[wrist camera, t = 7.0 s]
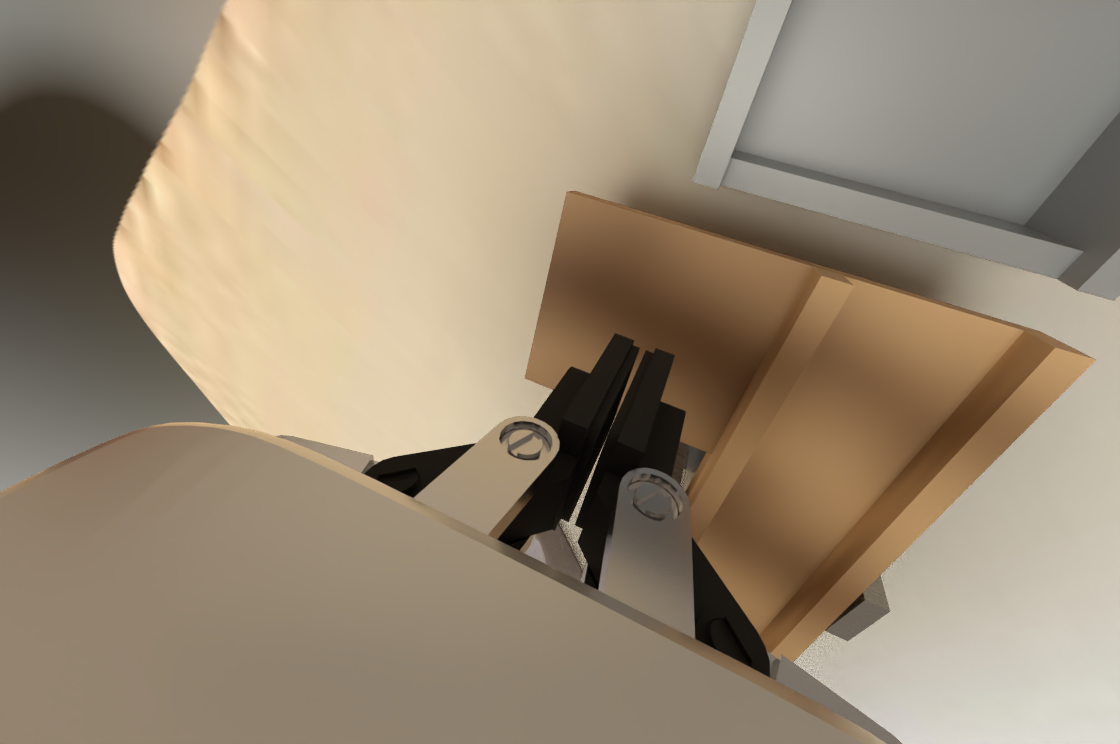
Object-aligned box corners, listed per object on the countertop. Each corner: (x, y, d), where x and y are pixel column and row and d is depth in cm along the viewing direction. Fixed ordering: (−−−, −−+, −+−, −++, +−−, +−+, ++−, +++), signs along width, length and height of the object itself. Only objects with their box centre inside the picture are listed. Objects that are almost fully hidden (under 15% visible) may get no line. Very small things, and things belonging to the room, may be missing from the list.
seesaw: (710, 664, 24) (707, 746, 20) (498, 556, 26) (464, 614, 23) (998, 310, 13) (1095, 359, 9) (591, 188, 15) (553, 193, 12)
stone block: (509, 552, 39) (596, 579, 33) (475, 595, 36) (564, 635, 30) (454, 450, 35) (540, 458, 29) (409, 488, 32) (495, 508, 26)
